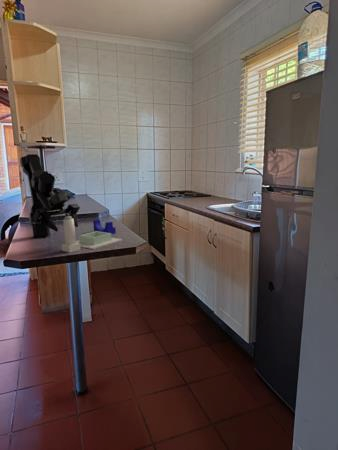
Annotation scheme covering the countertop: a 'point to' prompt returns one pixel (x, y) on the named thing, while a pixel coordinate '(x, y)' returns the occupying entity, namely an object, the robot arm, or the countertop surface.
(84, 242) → the end holder
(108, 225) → the cable clip
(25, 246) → the countertop surface
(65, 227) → the connector plug
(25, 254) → the countertop surface
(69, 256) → the countertop surface
